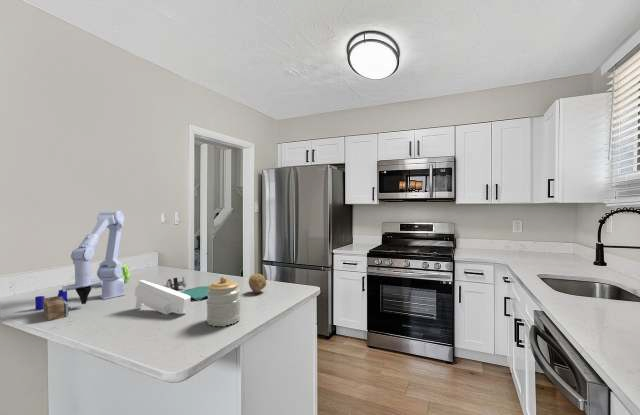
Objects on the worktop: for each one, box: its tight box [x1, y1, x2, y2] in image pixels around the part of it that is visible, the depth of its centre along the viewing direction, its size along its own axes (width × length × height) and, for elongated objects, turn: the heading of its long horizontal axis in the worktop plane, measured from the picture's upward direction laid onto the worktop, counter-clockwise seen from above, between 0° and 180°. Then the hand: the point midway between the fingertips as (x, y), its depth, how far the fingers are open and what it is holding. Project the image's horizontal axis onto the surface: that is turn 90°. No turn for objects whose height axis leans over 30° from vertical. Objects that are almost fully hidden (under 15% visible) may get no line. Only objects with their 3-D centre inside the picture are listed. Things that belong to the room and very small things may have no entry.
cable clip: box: [34, 289, 68, 311], centre depth 142 cm, size 12×4×6 cm, turn 171°
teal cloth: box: [180, 285, 210, 301], centre depth 159 cm, size 20×30×2 cm, turn 152°
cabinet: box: [42, 295, 66, 322], centre depth 129 cm, size 5×16×6 cm, turn 48°
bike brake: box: [162, 276, 188, 291], centre depth 165 cm, size 14×7×20 cm
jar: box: [205, 276, 242, 327], centre depth 119 cm, size 13×13×18 cm
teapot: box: [110, 263, 131, 284], centre depth 180 cm, size 16×14×13 cm
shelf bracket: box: [134, 279, 192, 315], centre depth 131 cm, size 6×27×14 cm, turn 71°
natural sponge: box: [248, 273, 267, 294], centre depth 157 cm, size 9×9×10 cm
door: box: [59, 297, 71, 316], centre depth 132 cm, size 2×16×5 cm, turn 48°
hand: (83, 303), depth 137 cm, fingers closed
